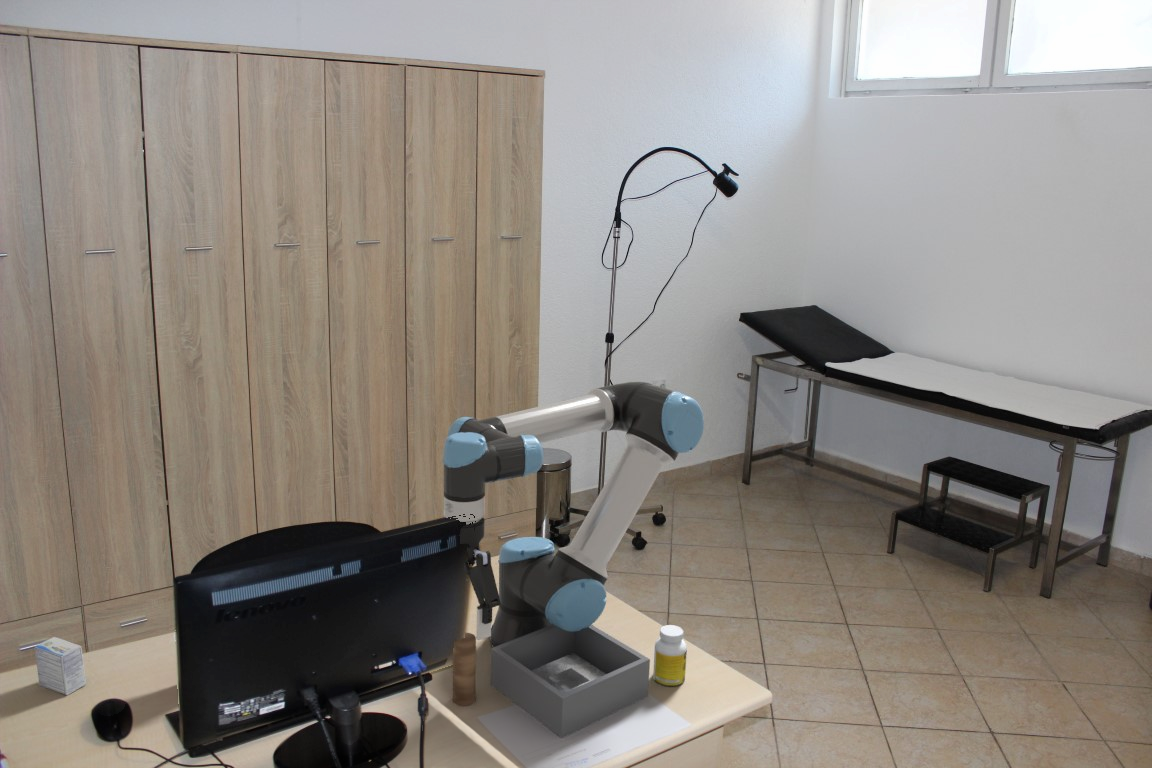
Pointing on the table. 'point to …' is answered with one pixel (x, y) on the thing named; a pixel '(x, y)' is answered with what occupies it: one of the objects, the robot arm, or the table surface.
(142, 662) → the table surface
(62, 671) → the medicine box
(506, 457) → the robot arm
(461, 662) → the walnut peg
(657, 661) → the pill bottle
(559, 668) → the bore plate
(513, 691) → the open box
